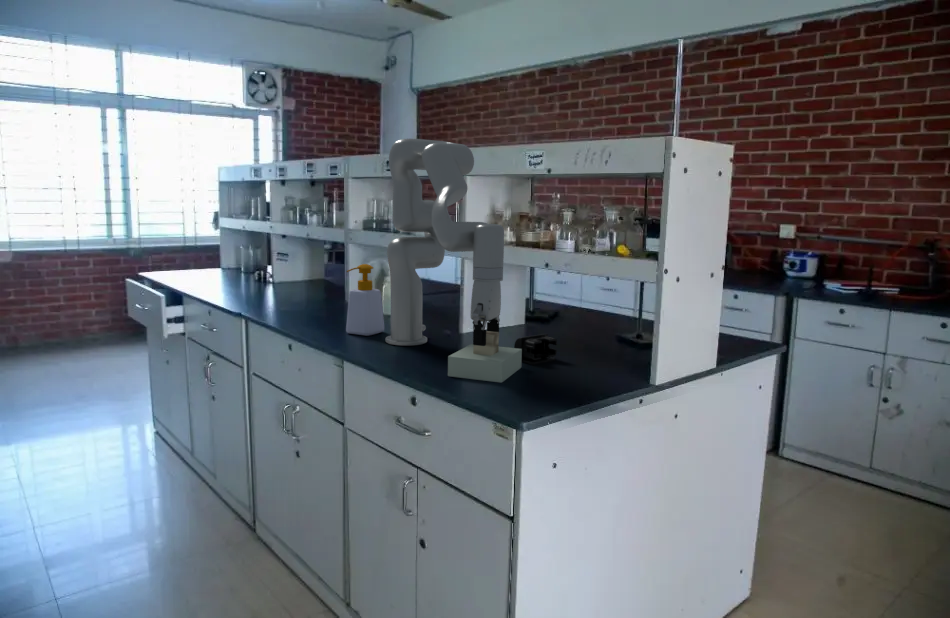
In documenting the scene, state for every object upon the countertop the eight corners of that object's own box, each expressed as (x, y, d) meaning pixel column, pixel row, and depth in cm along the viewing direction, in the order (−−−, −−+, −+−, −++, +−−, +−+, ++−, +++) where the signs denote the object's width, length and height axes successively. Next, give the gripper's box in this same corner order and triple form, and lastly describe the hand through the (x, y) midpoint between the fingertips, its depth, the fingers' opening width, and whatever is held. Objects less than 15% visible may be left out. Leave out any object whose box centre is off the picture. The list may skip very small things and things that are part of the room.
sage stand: (471, 361, 180) (471, 343, 179) (521, 367, 175) (521, 348, 174) (447, 376, 165) (448, 356, 164) (501, 382, 160) (502, 362, 160)
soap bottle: (335, 336, 209) (334, 265, 206) (362, 329, 222) (362, 262, 218) (359, 339, 205) (359, 267, 201) (386, 332, 217) (386, 263, 214)
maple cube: (480, 349, 173) (480, 330, 172) (498, 351, 171) (498, 332, 170) (473, 353, 168) (473, 334, 167) (492, 355, 166) (492, 335, 165)
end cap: (539, 355, 190) (540, 331, 189) (557, 360, 185) (558, 336, 183) (513, 360, 184) (514, 335, 183) (531, 365, 178) (532, 340, 177)
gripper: (485, 270, 175) (484, 334, 178) (460, 276, 160) (459, 346, 162) (513, 271, 173) (510, 336, 176) (490, 278, 157) (488, 350, 160)
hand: (486, 341), depth 169 cm, fingers open, 9 cm apart
